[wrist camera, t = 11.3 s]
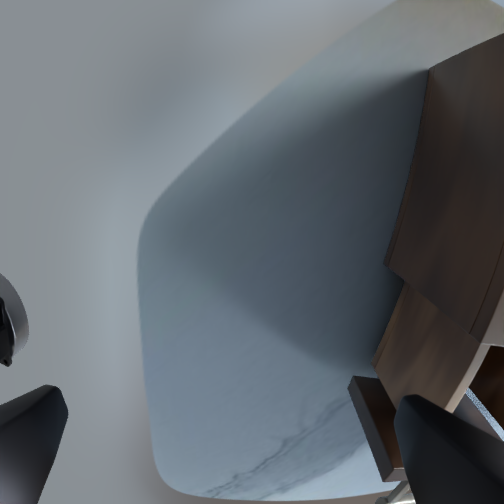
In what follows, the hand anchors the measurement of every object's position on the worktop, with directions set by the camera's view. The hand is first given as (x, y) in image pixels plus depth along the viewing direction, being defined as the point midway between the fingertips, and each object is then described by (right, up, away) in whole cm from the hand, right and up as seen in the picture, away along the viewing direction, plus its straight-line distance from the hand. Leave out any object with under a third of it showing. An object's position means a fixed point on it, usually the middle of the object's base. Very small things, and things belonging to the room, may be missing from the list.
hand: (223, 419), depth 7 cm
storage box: (+16, +8, +11) cm, 21 cm away
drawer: (+13, -3, +13) cm, 19 cm away
